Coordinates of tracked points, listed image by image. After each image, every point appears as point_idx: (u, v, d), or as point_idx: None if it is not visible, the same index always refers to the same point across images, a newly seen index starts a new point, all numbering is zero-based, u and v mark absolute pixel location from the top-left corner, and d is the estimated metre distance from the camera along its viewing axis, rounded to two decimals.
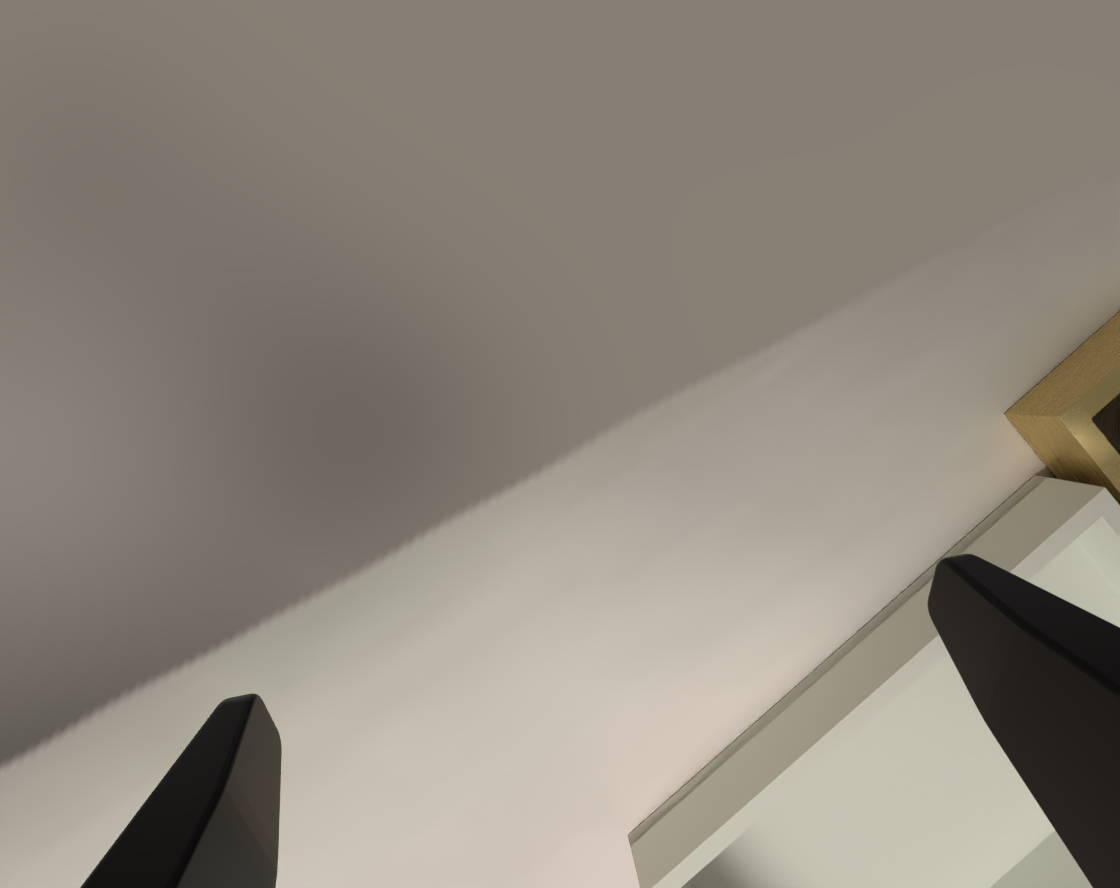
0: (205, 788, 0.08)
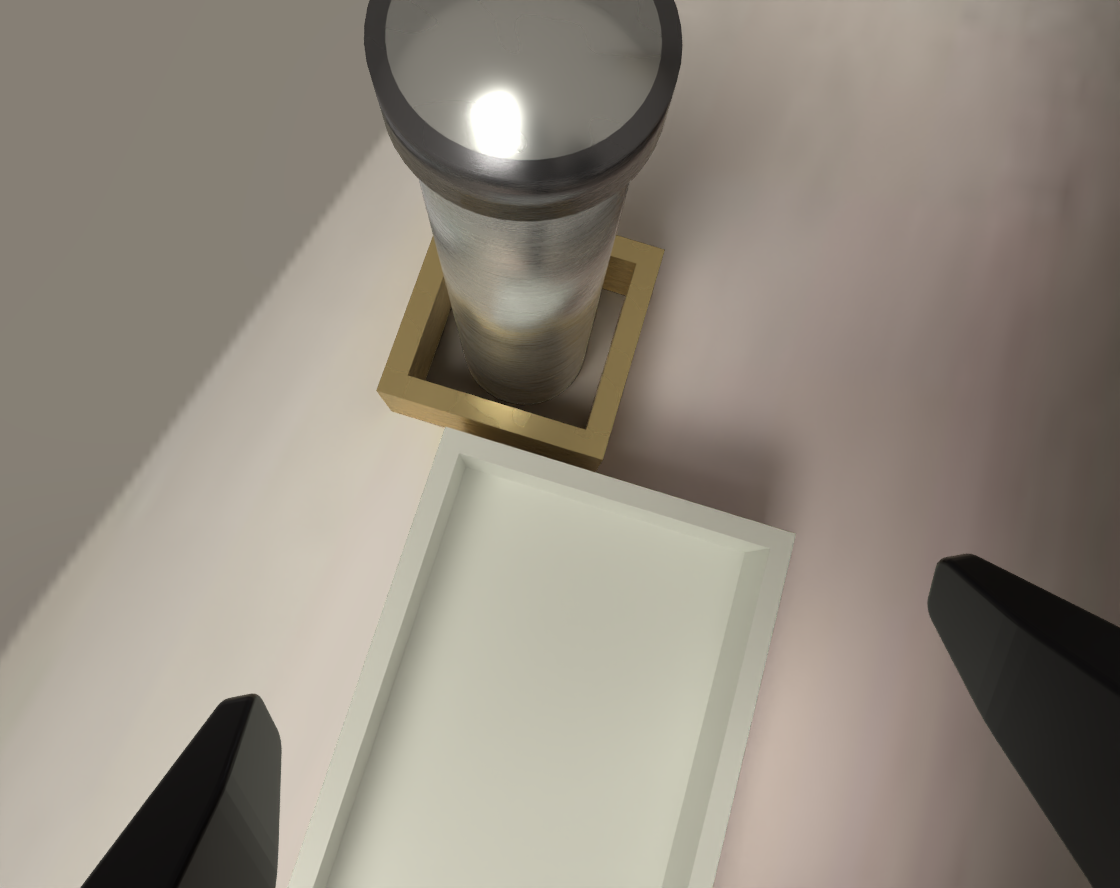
0: (205, 788, 0.08)
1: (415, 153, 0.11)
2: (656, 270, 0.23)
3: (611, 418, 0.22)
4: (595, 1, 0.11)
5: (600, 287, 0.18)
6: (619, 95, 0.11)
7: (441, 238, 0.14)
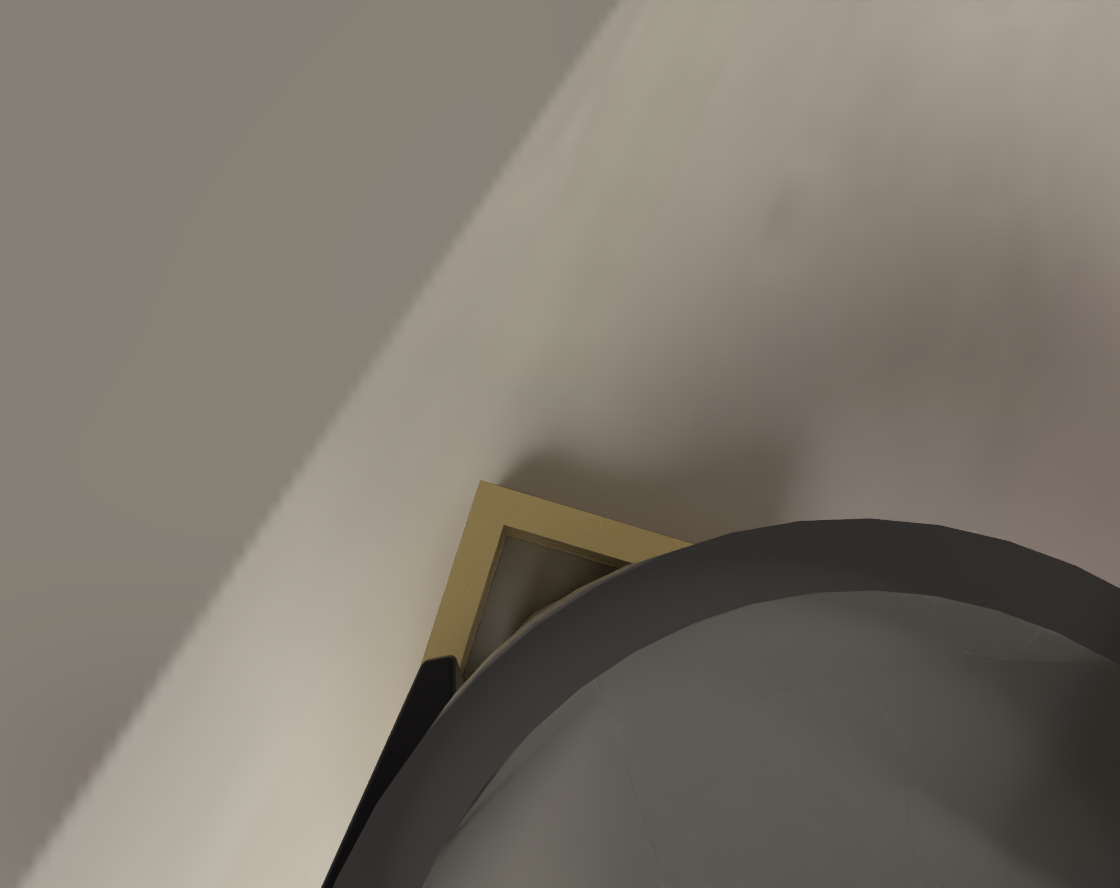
0: None
1: None
2: None
3: None
4: None
5: None
6: None
7: None
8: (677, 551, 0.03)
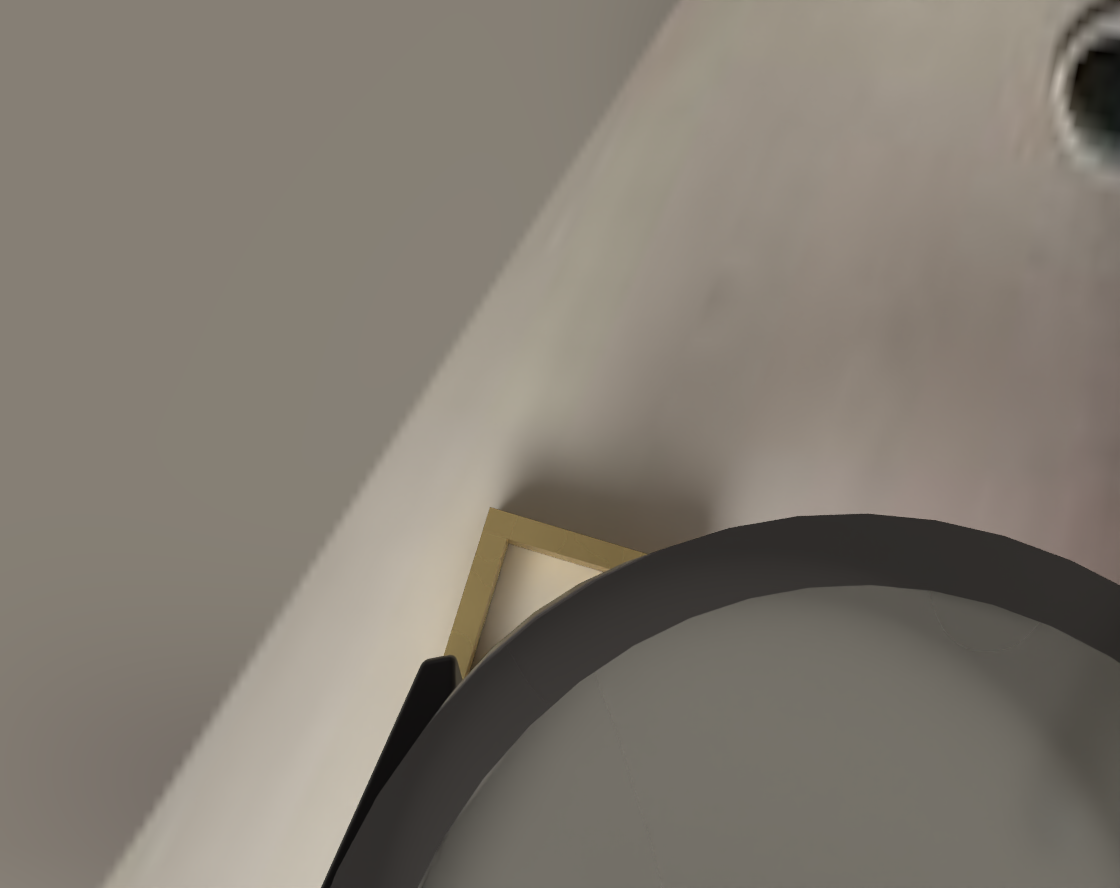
0: None
1: None
2: None
3: None
4: None
5: None
6: None
7: None
8: (675, 546, 0.03)
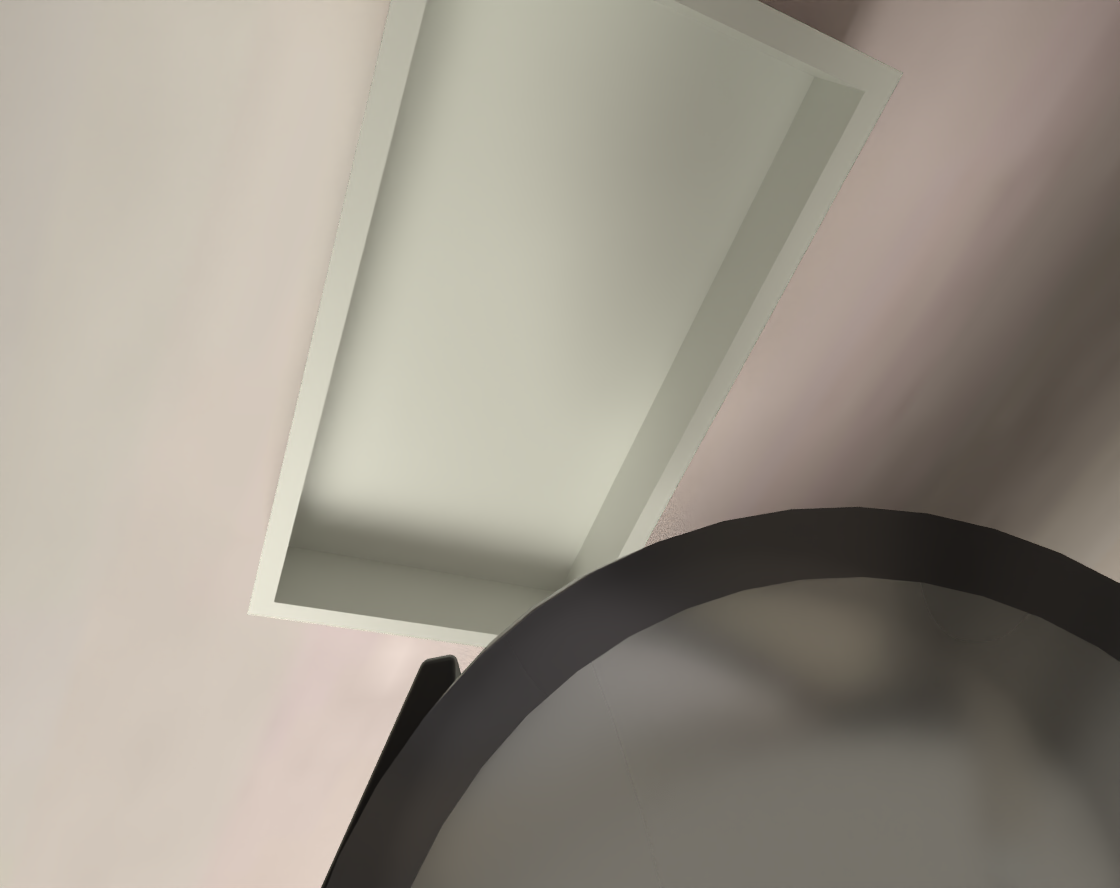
0: None
1: None
2: None
3: None
4: None
5: None
6: None
7: None
8: (671, 539, 0.03)
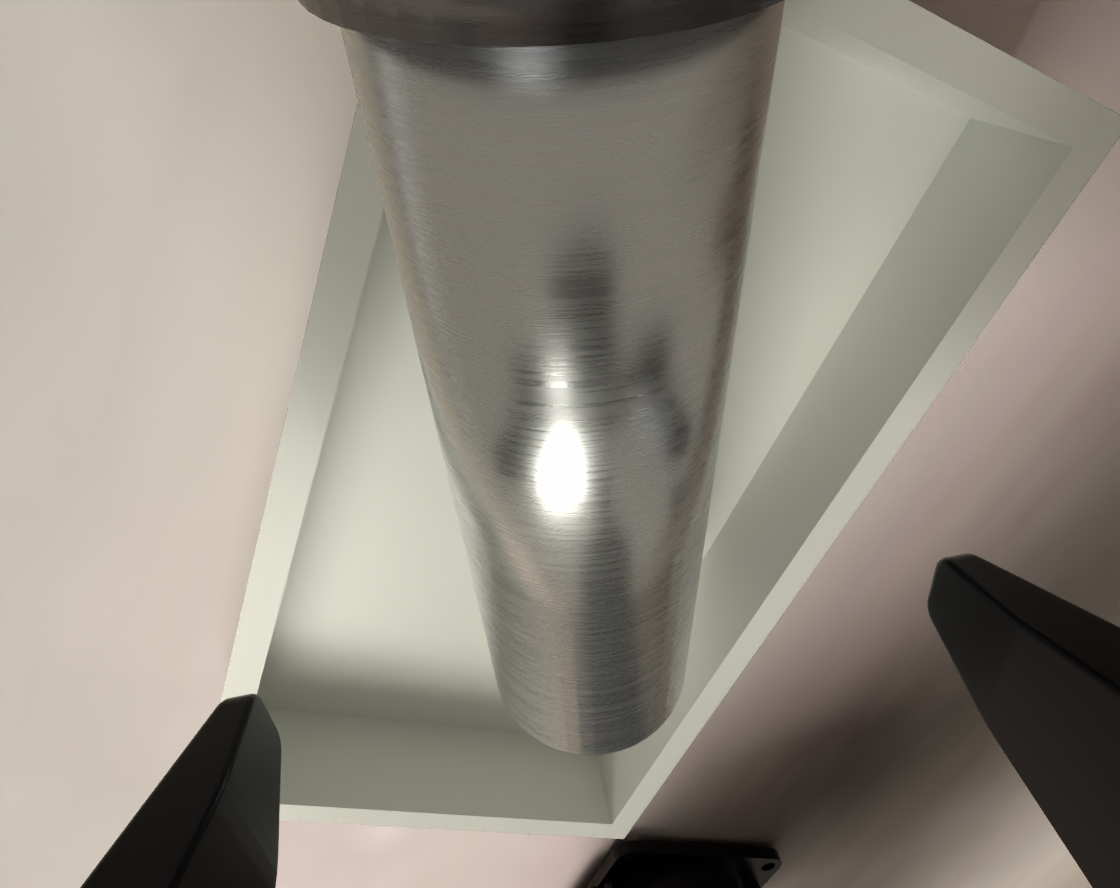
0: (205, 788, 0.08)
1: None
2: None
3: None
4: None
5: (714, 460, 0.10)
6: None
7: (426, 316, 0.08)
8: None
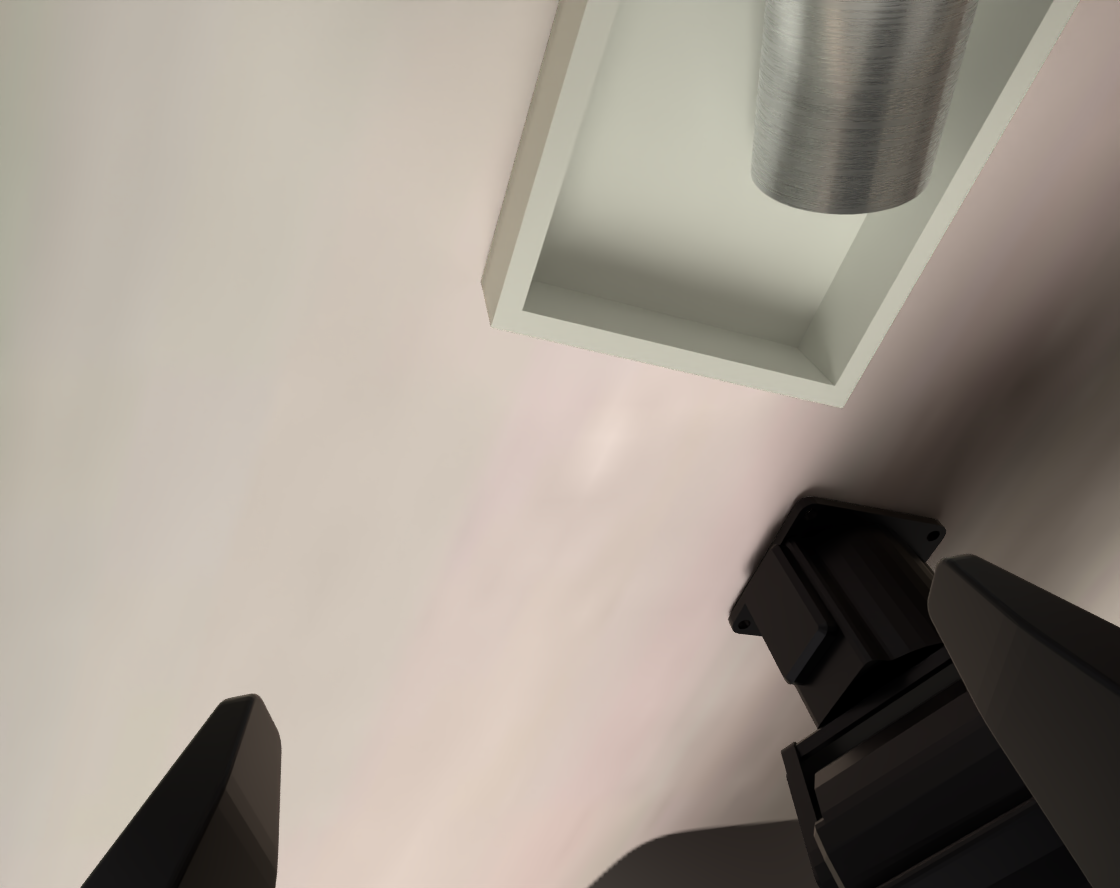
0: (205, 788, 0.08)
1: None
2: None
3: None
4: None
5: None
6: None
7: None
8: None
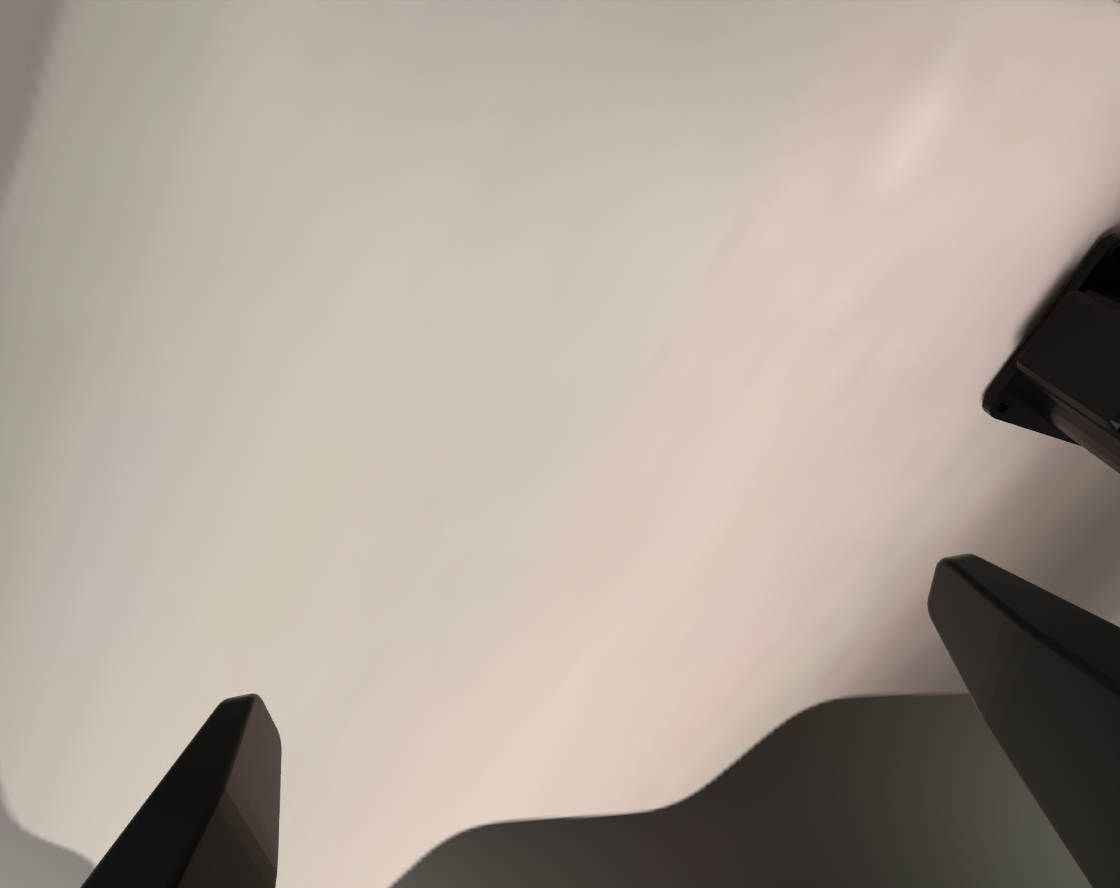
0: (205, 788, 0.08)
1: None
2: None
3: None
4: None
5: None
6: None
7: None
8: None
